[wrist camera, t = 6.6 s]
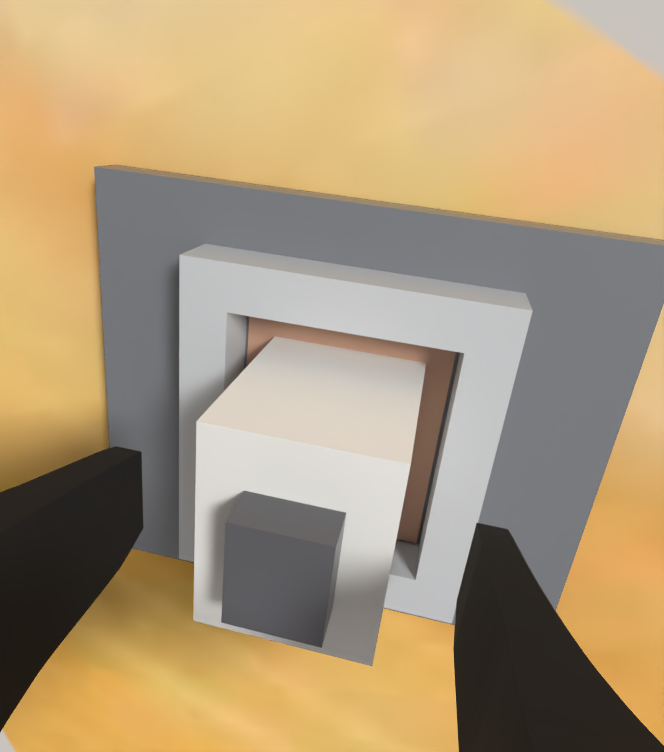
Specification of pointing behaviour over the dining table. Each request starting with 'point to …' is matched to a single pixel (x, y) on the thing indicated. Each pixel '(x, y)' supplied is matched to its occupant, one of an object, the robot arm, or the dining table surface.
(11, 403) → the dining table surface
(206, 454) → the plug
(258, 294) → the socket dock
